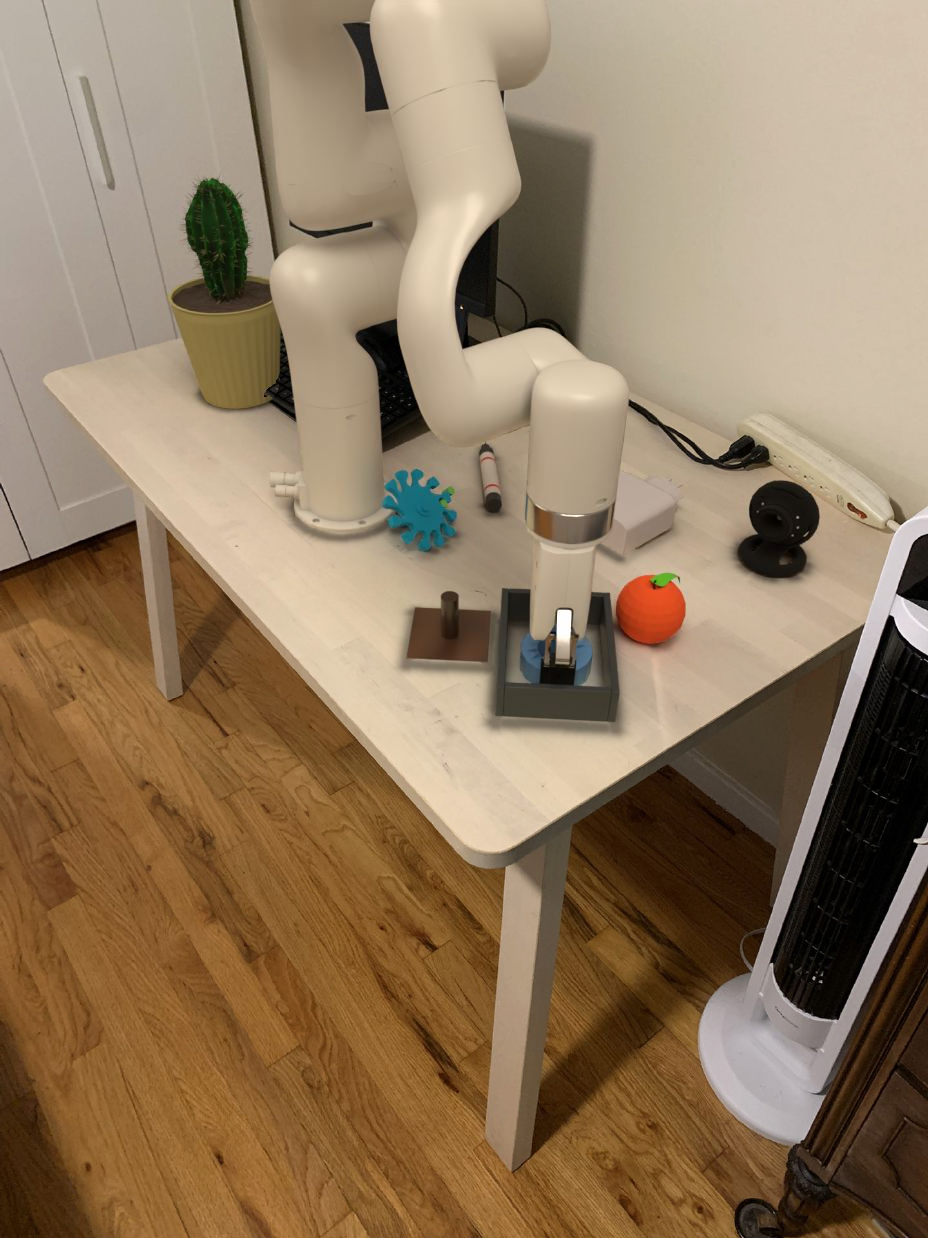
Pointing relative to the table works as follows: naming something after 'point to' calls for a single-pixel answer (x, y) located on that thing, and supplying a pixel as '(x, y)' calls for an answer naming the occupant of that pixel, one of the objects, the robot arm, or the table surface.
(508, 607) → the bin
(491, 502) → the marker
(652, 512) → the charger
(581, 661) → the tape roll
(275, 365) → the potted cactus
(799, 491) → the webcam
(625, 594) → the clementine
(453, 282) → the robot arm
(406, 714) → the table surface
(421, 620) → the peg stand
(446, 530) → the teal lobed piece
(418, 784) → the table surface
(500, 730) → the table surface
